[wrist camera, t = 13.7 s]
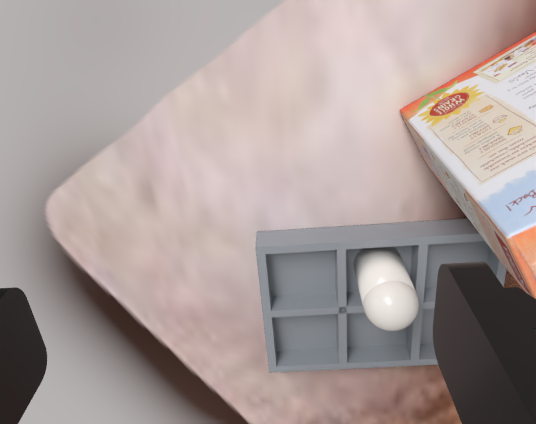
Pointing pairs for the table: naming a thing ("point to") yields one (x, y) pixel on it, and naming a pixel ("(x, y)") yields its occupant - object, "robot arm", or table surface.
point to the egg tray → (354, 292)
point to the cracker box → (488, 151)
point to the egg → (385, 288)
